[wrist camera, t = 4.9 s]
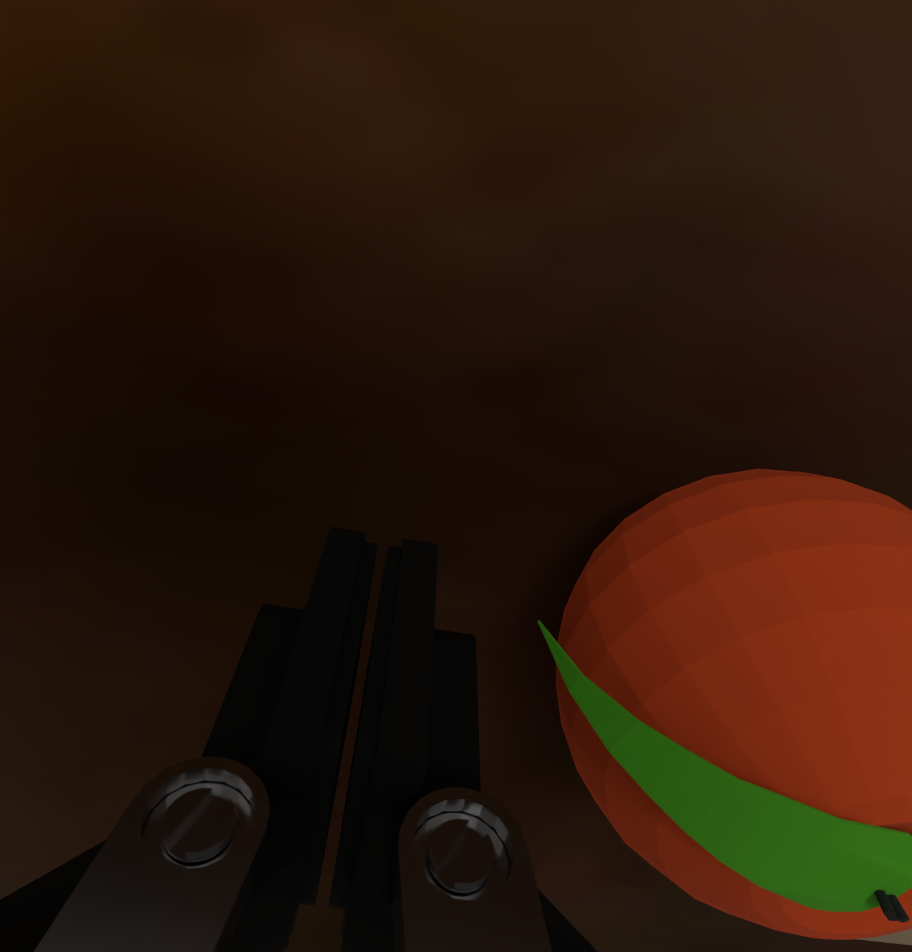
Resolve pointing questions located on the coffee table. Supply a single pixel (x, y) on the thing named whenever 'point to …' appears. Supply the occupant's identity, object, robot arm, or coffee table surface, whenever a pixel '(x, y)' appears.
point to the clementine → (753, 697)
